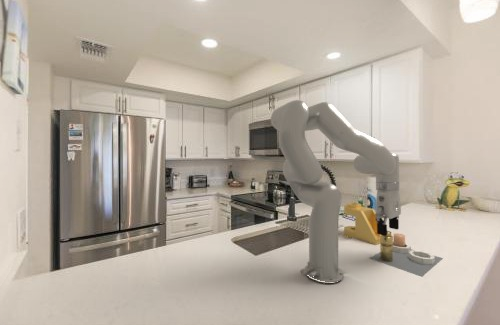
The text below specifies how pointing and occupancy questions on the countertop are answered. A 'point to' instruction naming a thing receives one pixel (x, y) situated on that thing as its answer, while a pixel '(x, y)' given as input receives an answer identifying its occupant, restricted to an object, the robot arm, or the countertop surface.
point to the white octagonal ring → (421, 257)
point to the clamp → (362, 223)
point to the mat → (407, 263)
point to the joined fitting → (400, 244)
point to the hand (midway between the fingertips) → (388, 231)
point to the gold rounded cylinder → (386, 247)
